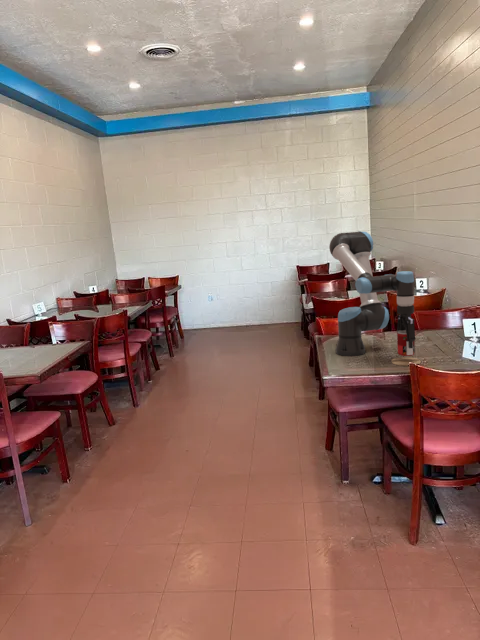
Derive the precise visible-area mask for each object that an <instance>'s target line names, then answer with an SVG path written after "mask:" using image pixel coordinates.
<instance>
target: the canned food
mask: <svg viewBox="0 0 480 640" xmlns="http://www.w3.org/2000/svg"><path fill="white" fill-rule="evenodd" d="M396 336H397V337H396V338H397V339H396V343H397V345H396V346H397V348H396V349H397V354H398V355H399V356H401V357H411V356H414V355H415V352H416V350H415V349H416V348H415V347H416V344H415V342H416V340H415V341H413V355H407V342H406V340H407V333H406V330H399V331H397V330H396Z"/></svg>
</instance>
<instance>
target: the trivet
mask: <svg viewBox="0 0 480 640" xmlns="http://www.w3.org/2000/svg"><path fill="white" fill-rule="evenodd" d="M409 362H414V363H416V364H419V365H421V363H422V362H421V359H419V358H416V357H411V356H401V357H400V356H399V357H394V358H392V359H391V364H393V365H395V366H401V367H409V366H408V363H409Z"/></svg>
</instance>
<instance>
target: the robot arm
mask: <svg viewBox="0 0 480 640" xmlns="http://www.w3.org/2000/svg"><path fill="white" fill-rule="evenodd" d="M373 249H374V240H373V237H372V236H371V234H370V233H368V232H367V231H352V232H351V231H350V232H340V233H338V234H335V235H334V236H333V237H332V238H331V240H330V242H329V252H330V254H331V256H332V257H333V258H334V259H335V260H338V262H340V264H341V265H342V266H343V267H344V269H345V270H346V271H347V273H349V275H350V276H351V277H352V279H353V280H354V281H355V285H354V287H355V288H356V291H357V293H359V298H360V303H361V304H360V305H359V306H350V307H346V308H343V309H341V310H339V312H338V314H337V323H338V324H337V325H338V340H337V344H336V345H335V346H336V347H335V354H337V355H339V356H344V357H346V356H347V357H353V356H354V357H356V356H361V355H364V354H366V347H365V343H364V341H363V339H362V338H363V337H362V332H368V331H370V332H371V331H378V330H383V329H384V328H386V327H387V326H388V325H389V324H388V323H389V320H390V314H389V313H390V312H389V309H388V308H387V307H385V306H383V303H382V302H381V301H380V300H379V298H378V295H377V293H380V292H383V293H384V292H391V291H392V292H393V291H394V292H396V305H397V306H396V313H397V315H396V316H397V325H396V332H397V331H399V330H406V333H407V340H406V342H407V355H412V356H414V355H413V341H415V342H416V331H415V319H414V318H412V314H414V313H415V305H414V304H415V300H416V299H415V296H414V295H415V279H414V272H413V271H411V270H410V271H409V270H407V271H406V270H404V271H397V272H396V274H392V273H389V274H384V275H376V276H373V270H372V266H371V263H370V256H371V255H372V252H373Z"/></svg>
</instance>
